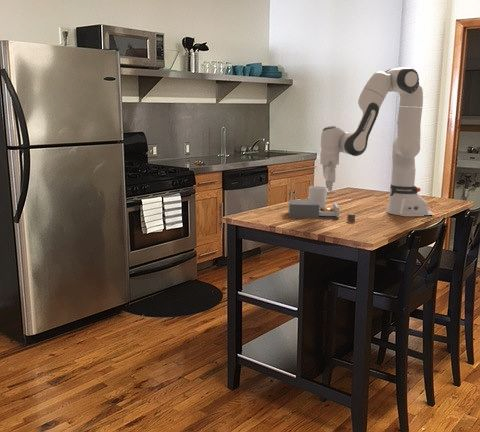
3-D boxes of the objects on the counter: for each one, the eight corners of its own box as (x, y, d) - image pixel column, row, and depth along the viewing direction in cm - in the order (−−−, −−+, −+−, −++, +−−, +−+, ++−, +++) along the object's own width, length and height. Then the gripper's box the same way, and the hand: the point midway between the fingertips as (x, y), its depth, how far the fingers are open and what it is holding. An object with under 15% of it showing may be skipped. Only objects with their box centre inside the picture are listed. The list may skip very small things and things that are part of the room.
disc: (332, 211, 264) (332, 207, 264) (333, 213, 259) (333, 209, 258) (319, 210, 265) (320, 206, 264) (320, 213, 259) (321, 209, 258)
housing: (335, 213, 268) (335, 201, 267) (338, 219, 255) (339, 205, 254) (288, 212, 269) (288, 199, 268) (289, 217, 257) (289, 204, 255)
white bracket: (336, 211, 268) (337, 202, 267) (339, 217, 255) (340, 207, 254) (308, 210, 269) (308, 201, 268) (309, 216, 256) (310, 206, 255)
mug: (318, 210, 274) (319, 189, 272) (304, 208, 281) (305, 187, 278) (332, 208, 283) (333, 187, 280) (318, 205, 289) (319, 185, 287)
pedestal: (353, 220, 252) (354, 213, 251) (354, 222, 249) (355, 214, 248) (347, 220, 252) (347, 213, 252) (348, 222, 249) (348, 214, 249)
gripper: (339, 162, 246) (338, 192, 249) (333, 158, 266) (333, 186, 269) (325, 162, 247) (324, 192, 249) (321, 158, 267) (320, 186, 269)
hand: (328, 189), depth 259 cm, fingers open, 8 cm apart
